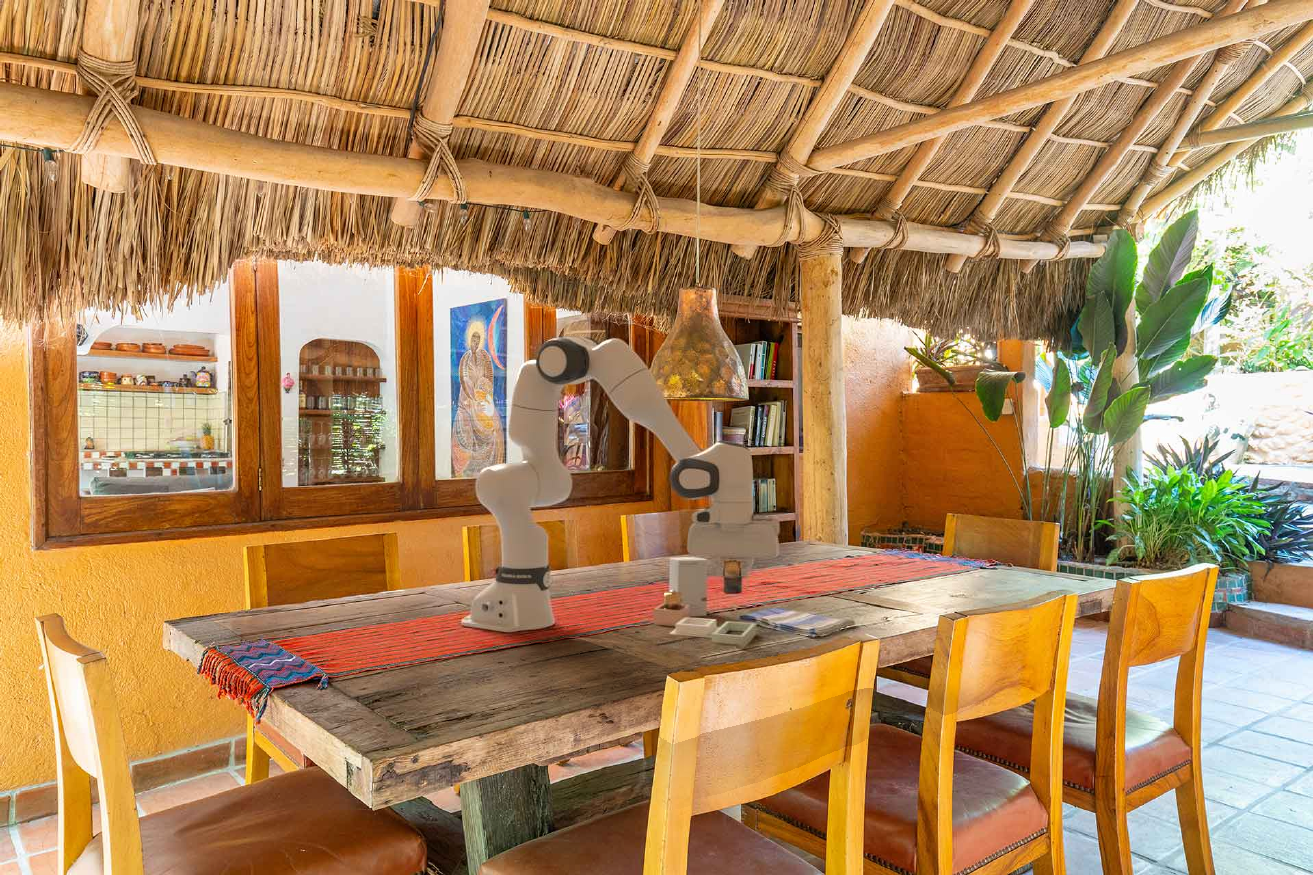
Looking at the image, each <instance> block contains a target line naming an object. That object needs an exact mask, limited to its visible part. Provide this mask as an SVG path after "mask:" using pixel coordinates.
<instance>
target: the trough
mask: <svg viewBox="0 0 1313 875" xmlns="http://www.w3.org/2000/svg"><path fill="white" fill-rule="evenodd" d="M729 631H733V632H737V631H738V632H742V633H741V635H740V634H730V633H729V634H728V632H729ZM726 633H727V634H726ZM756 635H757V622H741V621H728V620H726V621H725V622H724V623H722V625H720V626H719V628H718V629H717V630H716V631H715V632H714V633H713V634H712V638H711V643H713V644H723V645H724V644H726V645H737V647H735V648H736V649H742V648H744V647H745V648H746V646H747V645H749V643H750V642H752V640H753V639H754V638H755V637H756ZM754 636H755V637H754ZM745 648H744V649H745Z"/></svg>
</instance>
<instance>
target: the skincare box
mask: <svg viewBox="0 0 1313 875" xmlns="http://www.w3.org/2000/svg"><path fill="white" fill-rule="evenodd" d="M668 575H669V576H668V577H669V583H668V585H669V586H668V590H669V591H670V590H676V592H680V593H681V605H690V618H693V617H701V616H707V610H708V609H707V608H708V606H707V604H708V603H707V602H708V601H707V598H708V597H707V596H708V595H707V594H708V559H706V558H702V557H697V556H689V557H687V556H686V557H683V556H682V557H669V573H668Z"/></svg>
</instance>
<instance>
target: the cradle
mask: <svg viewBox="0 0 1313 875" xmlns="http://www.w3.org/2000/svg"><path fill="white" fill-rule="evenodd" d="M674 627H675V629H673V630H672V631H670V632H669V635H675V636H686V637H698V638H710V639H712V634H713V633H714V632H715V631H716V630H717V629H718V628H719V627H720V626H719V627H717V619H715V618H714V619H713V618H701V617H685V618H683V619H682V620H680V621H679V622H678V623H676V624H675V626H674Z"/></svg>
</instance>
